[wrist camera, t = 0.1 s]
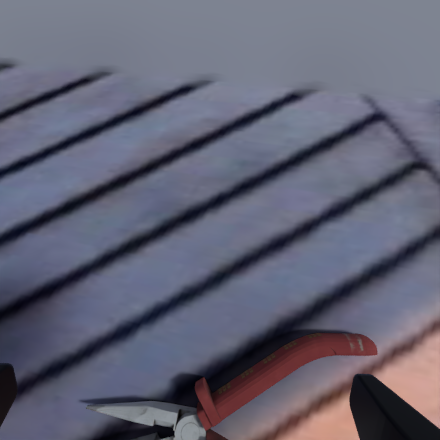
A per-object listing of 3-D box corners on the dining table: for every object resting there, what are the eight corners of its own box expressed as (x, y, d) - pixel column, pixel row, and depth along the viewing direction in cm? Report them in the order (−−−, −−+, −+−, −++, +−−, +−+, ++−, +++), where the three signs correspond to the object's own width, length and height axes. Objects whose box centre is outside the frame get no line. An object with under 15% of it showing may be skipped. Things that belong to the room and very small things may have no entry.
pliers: (98, 336, 23) (83, 341, 20) (363, 329, 23) (382, 333, 20) (84, 524, 20) (64, 557, 17) (389, 512, 20) (414, 543, 17)
